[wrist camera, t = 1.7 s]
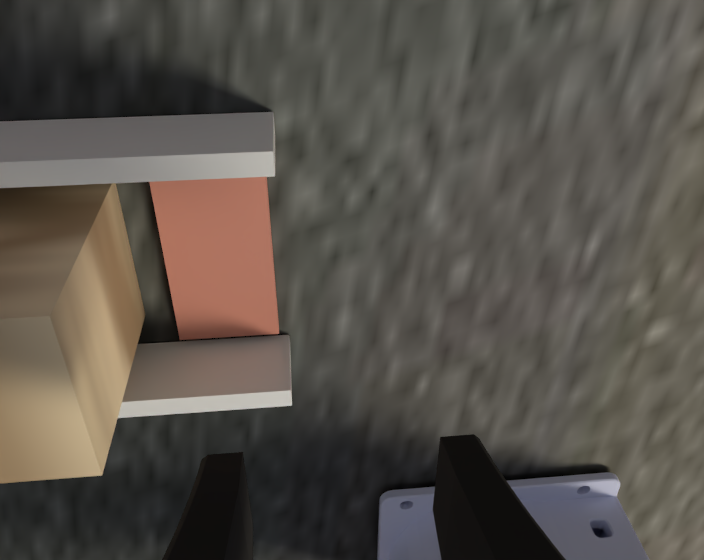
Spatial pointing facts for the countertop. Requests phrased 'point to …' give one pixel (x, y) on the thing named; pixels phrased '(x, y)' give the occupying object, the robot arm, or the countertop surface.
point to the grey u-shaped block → (184, 245)
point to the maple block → (63, 328)
